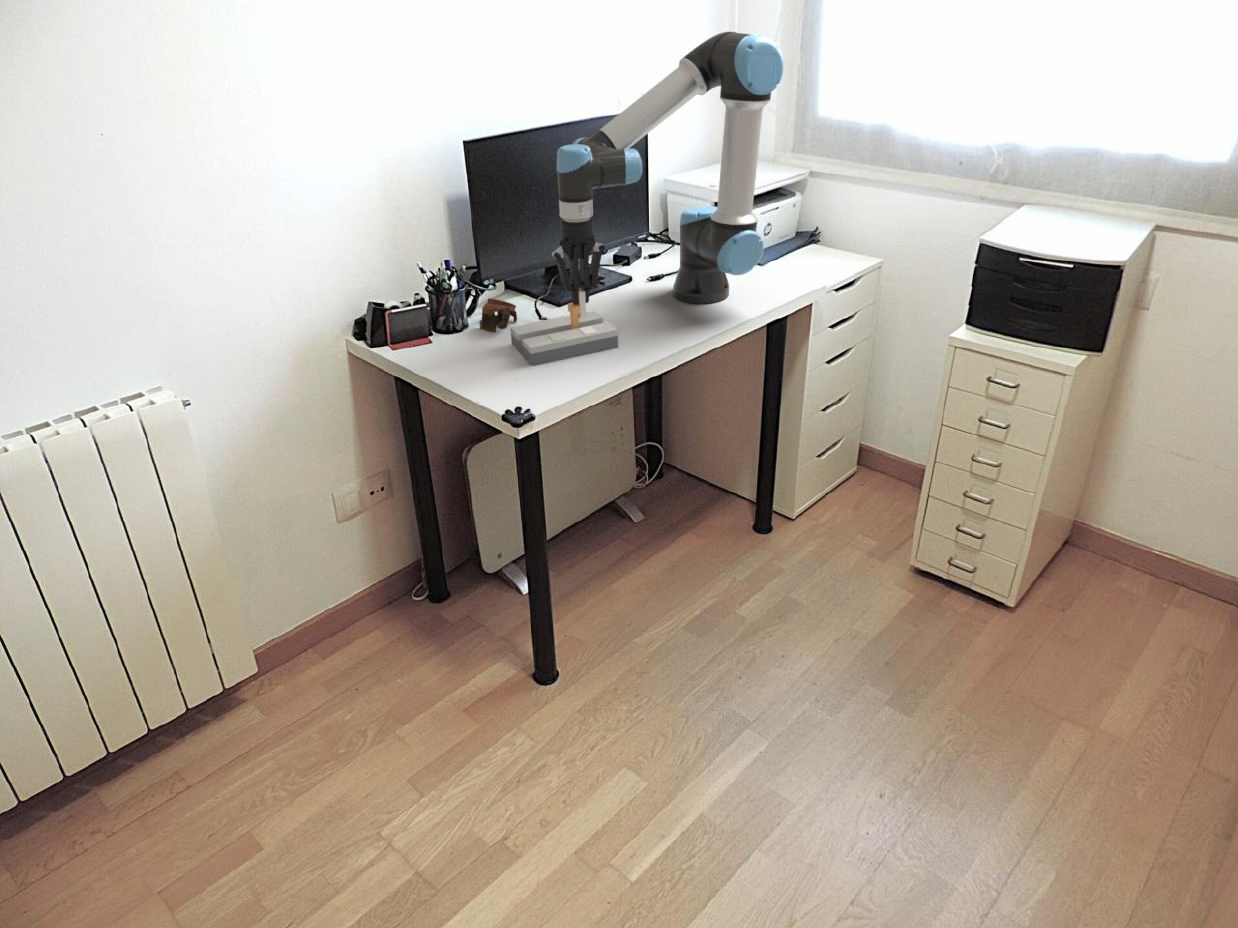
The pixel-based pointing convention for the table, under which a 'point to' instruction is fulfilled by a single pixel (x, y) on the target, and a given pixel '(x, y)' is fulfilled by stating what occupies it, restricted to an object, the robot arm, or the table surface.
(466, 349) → the table surface
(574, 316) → the breaker handle
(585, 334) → the box
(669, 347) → the table surface
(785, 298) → the table surface
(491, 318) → the brown arched block
